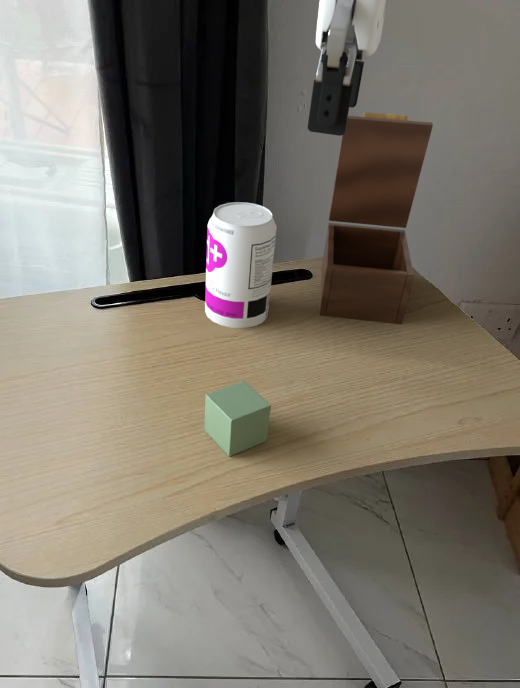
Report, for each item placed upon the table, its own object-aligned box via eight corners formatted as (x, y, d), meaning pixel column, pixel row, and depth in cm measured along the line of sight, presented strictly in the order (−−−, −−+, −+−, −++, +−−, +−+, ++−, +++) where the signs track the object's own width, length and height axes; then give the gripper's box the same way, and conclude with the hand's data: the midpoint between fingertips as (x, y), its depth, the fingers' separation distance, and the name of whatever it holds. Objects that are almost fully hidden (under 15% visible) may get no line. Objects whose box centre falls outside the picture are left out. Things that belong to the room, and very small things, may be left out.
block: (241, 415, 72) (244, 380, 69) (267, 441, 69) (271, 405, 66) (204, 430, 70) (205, 394, 67) (229, 457, 67) (231, 420, 64)
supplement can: (211, 342, 83) (216, 229, 74) (199, 309, 89) (202, 201, 80) (274, 337, 84) (286, 226, 75) (257, 304, 91) (267, 198, 81)
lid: (433, 125, 80) (430, 104, 84) (345, 118, 81) (346, 97, 84) (406, 228, 91) (404, 205, 94) (328, 221, 91) (330, 198, 95)
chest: (398, 335, 86) (414, 275, 80) (317, 327, 87) (326, 266, 81) (392, 286, 97) (405, 229, 91) (319, 279, 97) (328, 222, 92)
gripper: (417, -117, 43) (365, 152, 53) (424, -114, 56) (381, 101, 66) (303, -126, 44) (274, 138, 54) (336, -121, 57) (307, 91, 68)
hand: (333, 118), depth 60 cm, fingers open, 9 cm apart
